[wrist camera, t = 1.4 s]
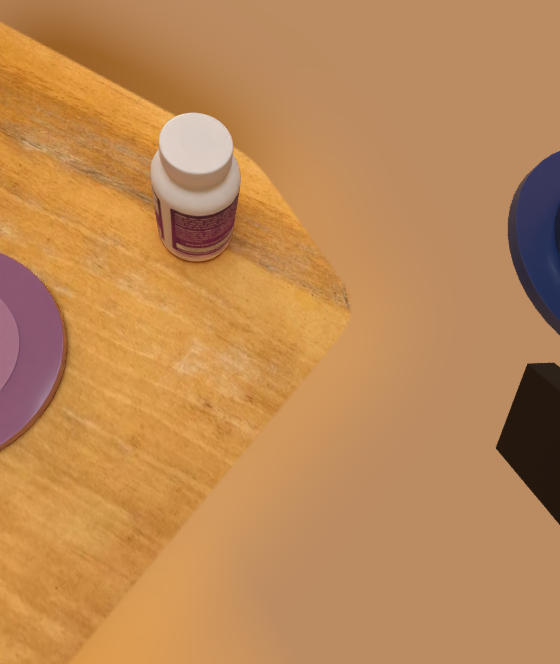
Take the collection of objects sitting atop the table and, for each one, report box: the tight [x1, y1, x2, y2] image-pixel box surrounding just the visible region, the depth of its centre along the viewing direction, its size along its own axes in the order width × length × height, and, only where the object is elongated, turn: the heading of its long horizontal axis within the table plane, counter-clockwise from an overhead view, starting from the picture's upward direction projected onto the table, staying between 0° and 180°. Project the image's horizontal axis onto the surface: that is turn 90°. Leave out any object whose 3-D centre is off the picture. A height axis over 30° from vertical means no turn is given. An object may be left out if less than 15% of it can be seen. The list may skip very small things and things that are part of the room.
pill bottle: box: [150, 113, 241, 261], centre depth 30 cm, size 5×5×10 cm
